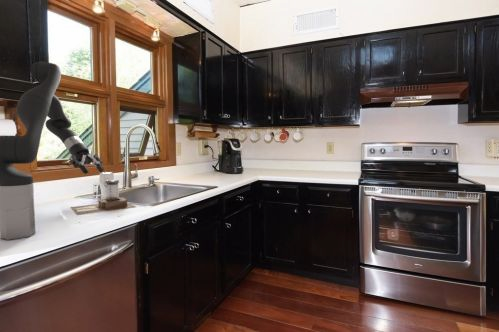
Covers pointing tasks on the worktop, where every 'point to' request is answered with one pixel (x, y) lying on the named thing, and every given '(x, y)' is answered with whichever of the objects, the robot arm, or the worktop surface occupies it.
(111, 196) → the grey mottled cylinder
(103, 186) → the beer glass
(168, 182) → the worktop surface
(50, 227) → the worktop surface
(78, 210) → the bore block
